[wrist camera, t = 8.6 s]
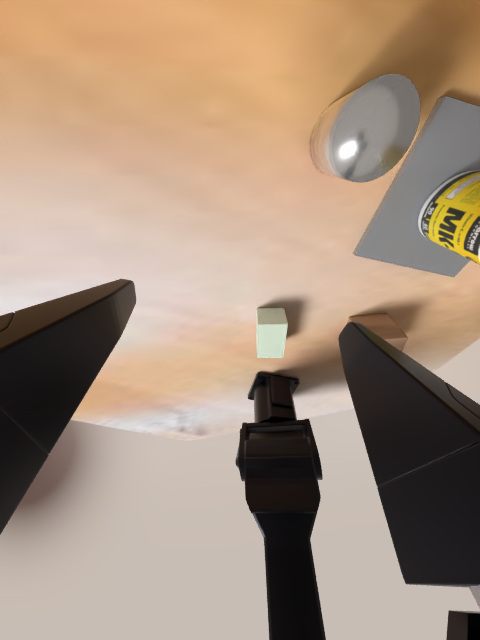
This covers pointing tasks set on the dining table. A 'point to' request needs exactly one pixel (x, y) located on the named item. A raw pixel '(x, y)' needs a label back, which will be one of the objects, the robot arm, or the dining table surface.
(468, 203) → the supplement bottle
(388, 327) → the walnut block
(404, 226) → the coaster
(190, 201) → the dining table surface
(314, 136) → the metal shaker
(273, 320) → the sage box
